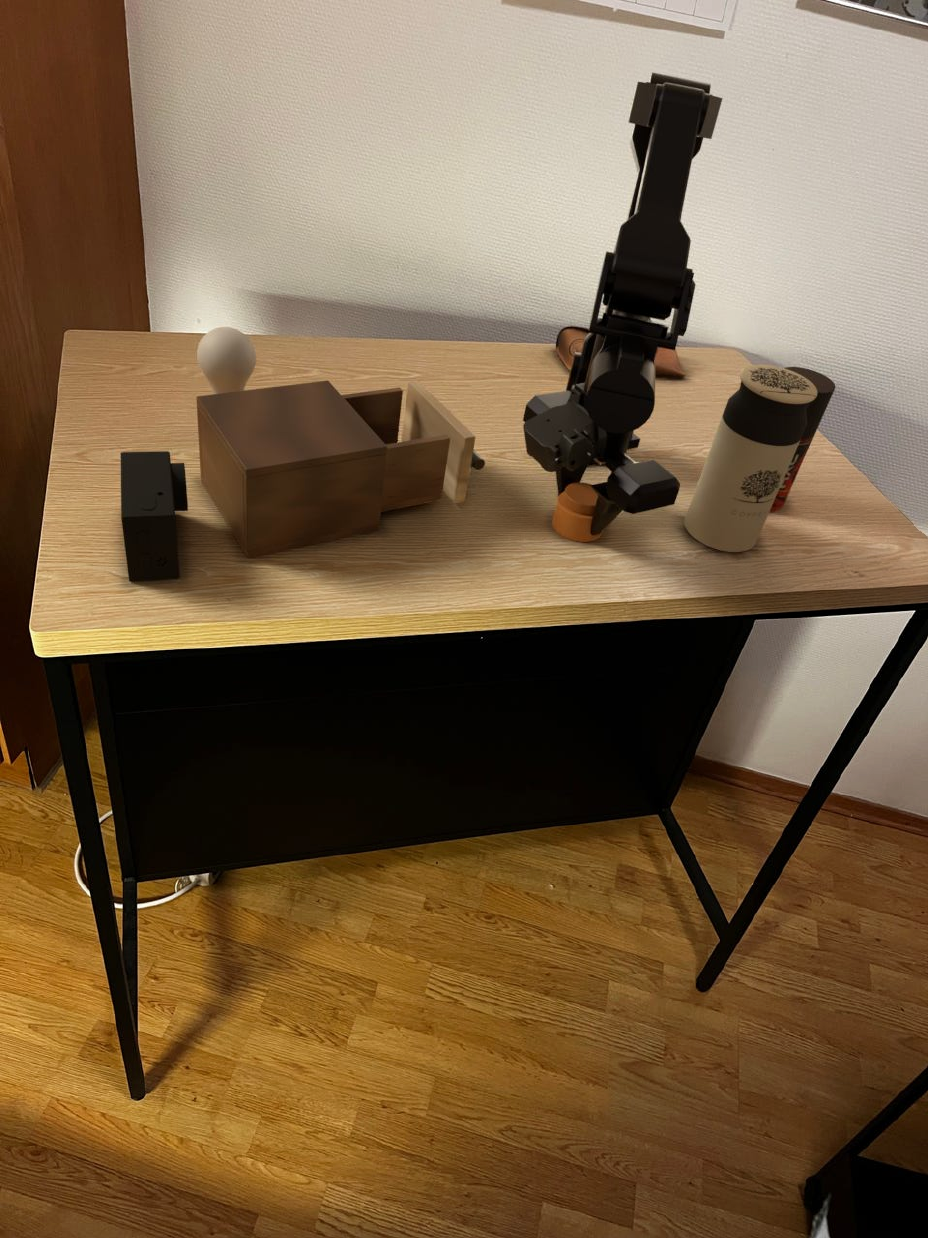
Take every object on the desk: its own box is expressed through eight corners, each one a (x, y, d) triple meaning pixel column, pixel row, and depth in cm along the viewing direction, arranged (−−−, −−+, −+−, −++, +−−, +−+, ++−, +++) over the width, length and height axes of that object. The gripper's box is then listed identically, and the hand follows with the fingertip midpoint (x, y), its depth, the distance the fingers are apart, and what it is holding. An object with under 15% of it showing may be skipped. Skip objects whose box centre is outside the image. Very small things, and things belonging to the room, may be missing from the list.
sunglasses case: (571, 372, 123) (573, 321, 122) (553, 376, 130) (555, 327, 128) (690, 377, 127) (693, 328, 126) (667, 380, 134) (670, 334, 133)
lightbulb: (189, 425, 100) (183, 330, 92) (221, 404, 104) (217, 312, 97) (237, 442, 98) (234, 347, 91) (267, 420, 103) (267, 328, 96)
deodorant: (756, 515, 102) (807, 395, 93) (723, 487, 106) (768, 369, 96) (793, 507, 105) (847, 389, 95) (760, 480, 109) (808, 364, 99)
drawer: (441, 437, 104) (450, 375, 99) (497, 495, 96) (510, 430, 91) (306, 460, 96) (309, 393, 91) (356, 524, 88) (361, 455, 83)
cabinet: (324, 461, 98) (328, 379, 92) (379, 530, 90) (387, 446, 84) (200, 481, 92) (196, 396, 86) (247, 558, 83) (246, 469, 77)
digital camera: (194, 578, 80) (189, 514, 76) (129, 582, 79) (121, 516, 74) (187, 512, 88) (183, 449, 83) (127, 514, 86) (120, 450, 81)
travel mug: (678, 507, 101) (731, 357, 90) (747, 517, 102) (808, 369, 90) (689, 549, 95) (747, 393, 84) (762, 559, 96) (830, 406, 84)
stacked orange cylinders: (589, 510, 98) (598, 478, 95) (610, 540, 94) (620, 506, 92) (544, 513, 96) (552, 480, 94) (563, 544, 93) (572, 510, 90)
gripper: (492, 347, 87) (469, 485, 97) (608, 444, 75) (568, 588, 85) (584, 337, 92) (553, 468, 102) (705, 426, 80) (656, 564, 90)
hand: (579, 518), depth 95 cm, fingers closed on stacked orange cylinders, 5 cm apart
